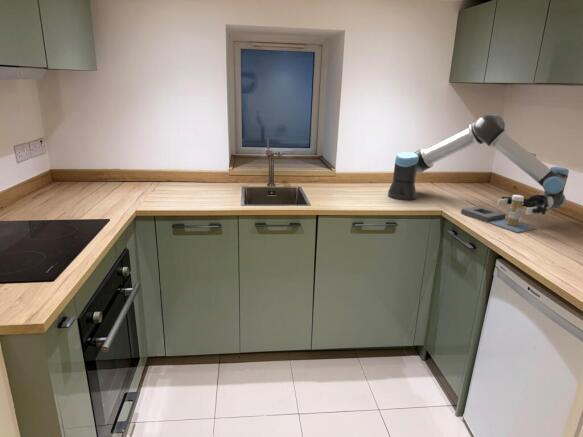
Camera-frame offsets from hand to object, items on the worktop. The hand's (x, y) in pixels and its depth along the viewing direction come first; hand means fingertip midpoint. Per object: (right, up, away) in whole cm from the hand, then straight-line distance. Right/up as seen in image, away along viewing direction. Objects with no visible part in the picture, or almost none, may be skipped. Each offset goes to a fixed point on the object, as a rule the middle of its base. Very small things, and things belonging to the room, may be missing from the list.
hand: (511, 207), depth 179 cm
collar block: (-5, -4, +17) cm, 18 cm away
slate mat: (+2, -8, +4) cm, 10 cm away
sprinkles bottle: (+2, -8, +4) cm, 9 cm away
